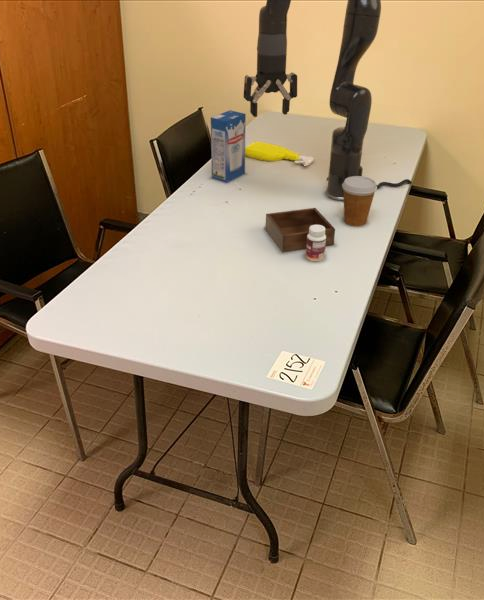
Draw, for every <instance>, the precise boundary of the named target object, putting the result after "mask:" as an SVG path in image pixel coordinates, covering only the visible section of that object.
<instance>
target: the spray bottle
mask: <svg viewBox="0 0 484 600" xmlns="http://www.w3.org/2000/svg"><path fill="white" fill-rule="evenodd" d="M245 157H248V158H251V159H255V160H259V161H264V162H277V161H281V160H290V161H293V163H294V164H302V165H303V166H304V167H307V166H309V165H310V164H312V163H313V162H314V157H313V156H311V155H310V156H307V155H301V154H300V153H297V152H295V151H292V150H290V149H289V148H287V147H284V146H280V145H277V144H272V143H267V142H261V141H253V142H252V143H251V144H249V145H246V146H245Z"/></svg>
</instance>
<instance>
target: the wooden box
mask: <svg viewBox="0 0 484 600" xmlns="http://www.w3.org/2000/svg"><path fill="white" fill-rule="evenodd" d="M311 225H322V226H324V227H325V235H326V244H325V247H330V246H334V245H335V237H336V236H335V235H336V234H335V233H336V227H334V226H333V225H332V224H331V222H330V221H328V219H326V217H325V216H324V215H323V214H322V213H321V212H320V211H319V210H318V208H316V207H310V208H309V207H308V208H301V209H294V210H293V209H292V210H286V211H278V212H269V213H265V231H266V232H267V234H268V236H270V238H271V239H272V241H273V242H274V244H276V246H277V248H278V249H279V250H280V252H281V253H288V252H294V251H295V252H296V251H302V250H306V245H307V235H308V233H309V227H310V226H311Z"/></svg>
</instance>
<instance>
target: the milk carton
mask: <svg viewBox="0 0 484 600" xmlns="http://www.w3.org/2000/svg"><path fill="white" fill-rule="evenodd" d="M246 116H247V114H246V113H245V112H239V111H235V110H227V111H225V112H222V113H219V114H216V115H213V116H211V117H210V143H211V144H210V150H211V152H210V155H211V179H214V180H217V181H220V182H223V183H226V184H227V183H229V182H231V181H234V180H235V179H237V178H240V177H241V176H243V175H245V174H246V155H245V149H246V118H247V117H246Z"/></svg>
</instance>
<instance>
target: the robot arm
mask: <svg viewBox="0 0 484 600" xmlns="http://www.w3.org/2000/svg"><path fill="white" fill-rule="evenodd" d="M291 2H292V0H266V3H265V5H263V6H262V7H261V8H260V10H259V13H258V34H257V35H258V36H257V44H256V74H255V76H249V74H248V75H247V74H246V75H245V76H244V80H243V81H244V82H243V83H244V84H243V85H244V86H243V99H245V101H247V102H249V104H250V105H249V106H250V107H249V111H250V114H251V115H252V117H254V118H257V117H258V101H259V99H260V98H262V96H263V95H264V94H270V93H280V94H281V95H282V97H283V98H282V105H281V113H282V114H283V115H288V113H289V112H290V106H291V105H290V103H291V100H292V99H295V98H297V97H298V75H297V74H296V73H294V72H290V73H286V72H287V55H288V54H287V53H288V33H287V31H288V13H289V10H290V7H291V6H290V5H291V4H292V3H291ZM381 15H382V0H347V4H346V8H345V15H344V19H343V20H344V21H343V29H342V36H341V42H340V49H339V54H338V58H337V59H338V60H337V64H336V68H335V72H334V76H333V80H332V85H331V89H330V95H329V109H330V111H331V112H332V113H333V114H334V115H336V116H339V117H342V118H346V119H345V126H340V127H337V128H335V129H333V131H332V135H331V144H330V155H329V165H328V166H329V167H328V175H327V177H326V182H327V187H326V196H327V197H328V198H330V199H332V200H336V201H342V202H344V190H343V187H342V184H343V183H344V181H345V179H346V178H348V177H352V176H363V171H364V170H363V166H361V163H362V155H363V146H364V138H365V136H366V133H367V131H368V126H369V121H370V116H371V115H370V114H371V110H372V102H373V96H372V93H371V91H370V89H369V88H367V87H365V86H362V85H358V84H355V83H354V81H355V75H356V71H357V68H358V65H359V63H360V61H361V59H362V58H363V56H364V55H365V54H366V52H367V51H368V50H369V48H370V47H371V46H372V44H373V43H374V41H375V39H376V37H377V34H378V31H379V26H380V19H381ZM287 81H288V83H289V92H288V90H287V89H286V88H285V83H286V82H287ZM255 82H256V84H257V85H256V87H255V88H254V90H253V93H252V86H254V83H255ZM406 183H407V184H409V185H411V184H412V183H413V182H412V181H411V179H408V178H405V179H403V180H402V181H399V182H395V183H393V182H388V181H381V182H379V183H378V184H376V186H377V189H380V188H381V187H382V186H389V187H400V186H402V185H404V184H406Z"/></svg>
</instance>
